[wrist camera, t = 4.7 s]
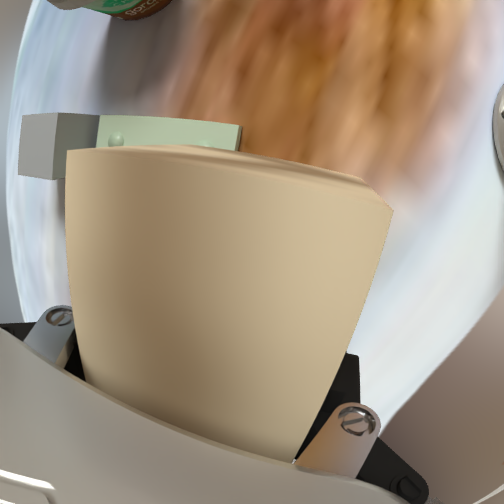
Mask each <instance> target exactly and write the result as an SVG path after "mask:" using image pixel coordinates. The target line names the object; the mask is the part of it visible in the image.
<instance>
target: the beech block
mask: <svg viewBox="0 0 504 504" xmlns="http://www.w3.org/2000/svg"><path fill="white" fill-rule="evenodd" d="M393 211H394V210H393V209H392V208H391V207H390V206H389V205H388V204H387V203H386V202H385V201H384V200H383V199H382V198H381V197H380V196H379V195H378V194H377V193H376V192H375V191H374V190H373V189H372V188H371V187H370V186H368V185H367V184H366V183H365V182H364V181H363V180H362V179H361V178H360V177H356V176H352V175H348V174H344V173H340V172H336V171H332V170H328V169H324V168H319V167H315V166H310V165H306V164H301V163H297V162H292V161H287V160H282V159H277V158H272V157H267V156H261V155H256V154H250V153H244V152H238V151H232V150H226V149H220V148H213V147H206V146H199V145H191V144H177V145H134V146H114V147H99V148H86V149H75V150H67V159H66V179H65V231H66V252H67V266H68V277H69V287H70V295H71V303H72V311H73V317H74V324H75V330H76V336H77V341H78V347H79V352H80V357H81V361H82V366H83V370H84V375H85V379H86V383H88V384H90V385H91V386H93V387H95V388H97V389H99V390H100V391H102V392H104V393H106V394H108V395H110V396H112V397H114V398H115V399H117V400H119V401H121V402H123V403H125V404H127V405H129V406H131V407H133V408H135V409H138V410H140V411H142V412H144V413H146V414H148V415H150V416H153V417H155V418H157V419H159V420H162V421H164V422H166V423H169V424H171V425H174V426H176V427H178V428H181V429H183V430H186V431H188V432H191V433H194V434H196V435H199V436H202V437H204V438H207V439H210V440H213V441H216V442H218V443H221V444H224V445H227V446H230V447H234V448H237V449H240V450H243V451H247V452H250V453H253V454H257V455H260V456H264V457H267V458H271V459H275V460H279V461H282V462H286V463H290V464H291V463H292V461H293V459H294V458H295V456H296V454H297V452H298V450H299V449H300V447H301V445H302V443H303V441H304V439H305V437H306V436H307V434H308V432H309V430H310V428H311V426H312V424H313V422H314V420H315V418H316V416H317V414H318V412H319V410H320V408H321V406H322V404H323V402H324V400H325V398H326V395H327V393H328V391H329V389H330V387H331V385H332V382H333V380H334V378H335V376H336V374H337V371H338V369H339V367H340V364H341V362H342V360H343V357H344V355H345V353H346V350H347V348H348V345H349V343H350V340H351V338H352V335H353V333H354V330H355V328H356V325H357V323H358V320H359V317H360V315H361V312H362V309H363V306H364V304H365V301H366V298H367V295H368V292H369V290H370V287H371V284H372V281H373V278H374V275H375V272H376V269H377V266H378V262H379V259H380V256H381V253H382V250H383V246H384V243H385V239H386V236H387V233H388V229H389V225H390V222H391V218H392V214H393Z"/></svg>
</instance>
